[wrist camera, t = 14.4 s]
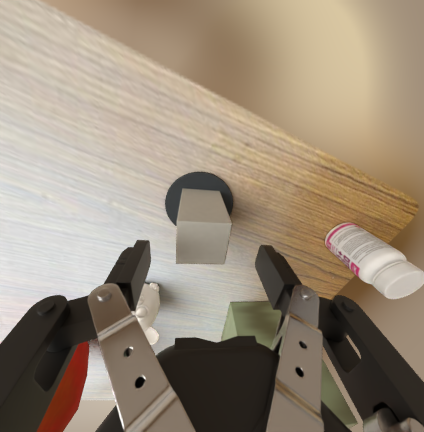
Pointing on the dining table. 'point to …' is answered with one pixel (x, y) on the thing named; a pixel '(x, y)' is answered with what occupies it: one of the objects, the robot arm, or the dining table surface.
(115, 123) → the dining table surface
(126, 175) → the dining table surface
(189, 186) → the coaster
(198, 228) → the block
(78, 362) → the apple
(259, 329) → the stand
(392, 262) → the pill bottle
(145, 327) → the figurine
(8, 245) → the dining table surface
